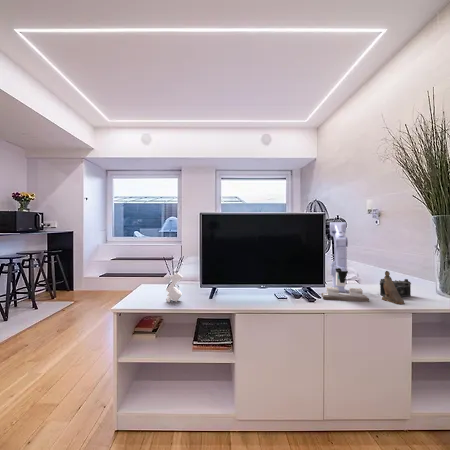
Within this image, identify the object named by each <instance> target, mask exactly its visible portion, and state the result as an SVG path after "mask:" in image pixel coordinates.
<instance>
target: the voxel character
mask: <svg viewBox="0 0 450 450" xmlns="http://www.w3.org/2000/svg"><path fill="white" fill-rule="evenodd" d="M169 277H170V281H171V283H170V284H169V286H168V287H167V288H166V289H165V290H166V292H168V294H167V298H166V299H165V301H166V302H168V303H170V302H171V301H174V302H176V303H177V302H178V301H179V300H180V298H181V296H182V295H183V292H182V291H181V290H180V289H178V288H177V287H176V285H177V284H178V282H181V280H182V278H184V276H183V275H182V274H181V273H179V272H175V273H174V274H170V275H169Z"/></svg>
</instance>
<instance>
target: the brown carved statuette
mask: <svg viewBox="0 0 450 450" xmlns="http://www.w3.org/2000/svg"><path fill="white" fill-rule="evenodd" d="M384 275H385V276H384V278H383V279H385V283H384V285H383V286H384V290H385V294H386V296H381V300H383V301H387V302H389V303H392V304H394V305H395V304H396V305H405V300H404V299H403V297H401V296H400V295H399V293H398V291H397V289H396V287H395V285H394V284H393V281H394V280H393V279H392V277H391V276H390V271H388V270H386V271H385V272H384Z"/></svg>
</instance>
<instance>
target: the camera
mask: <svg viewBox="0 0 450 450" xmlns="http://www.w3.org/2000/svg"><path fill="white" fill-rule="evenodd" d="M392 281H393V284H394V285H395V287H396V289H397V291H398V293H399V295H400V296H401V298H403V297H411V293H412V291H411V287H412V286H411V285H412V282H411V281H409V279H407V278H405V279H404V280H396V279H395V280H392ZM384 283H385V279H384V278H380V280H379V285H380V286H379V287H380V289H379V291H380V293H379V294H380V295H381V297H383V296H386V294H385V290H384V286H383V285H384Z"/></svg>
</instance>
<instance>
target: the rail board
mask: <svg viewBox="0 0 450 450" xmlns="http://www.w3.org/2000/svg"><path fill="white" fill-rule="evenodd" d="M348 289H349V290H348V293H340V292H339V289H338V287H331V286H326V292H321V297H323V298H322V299H324V301H325V300H326V301H330V300H331V301H343V302H344V301H346V302H347V301H349V302H350V301H351V302H370V299H369V297H368V296H367V295H366V294H363V289H362V288H359V287H349V288H348Z"/></svg>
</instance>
